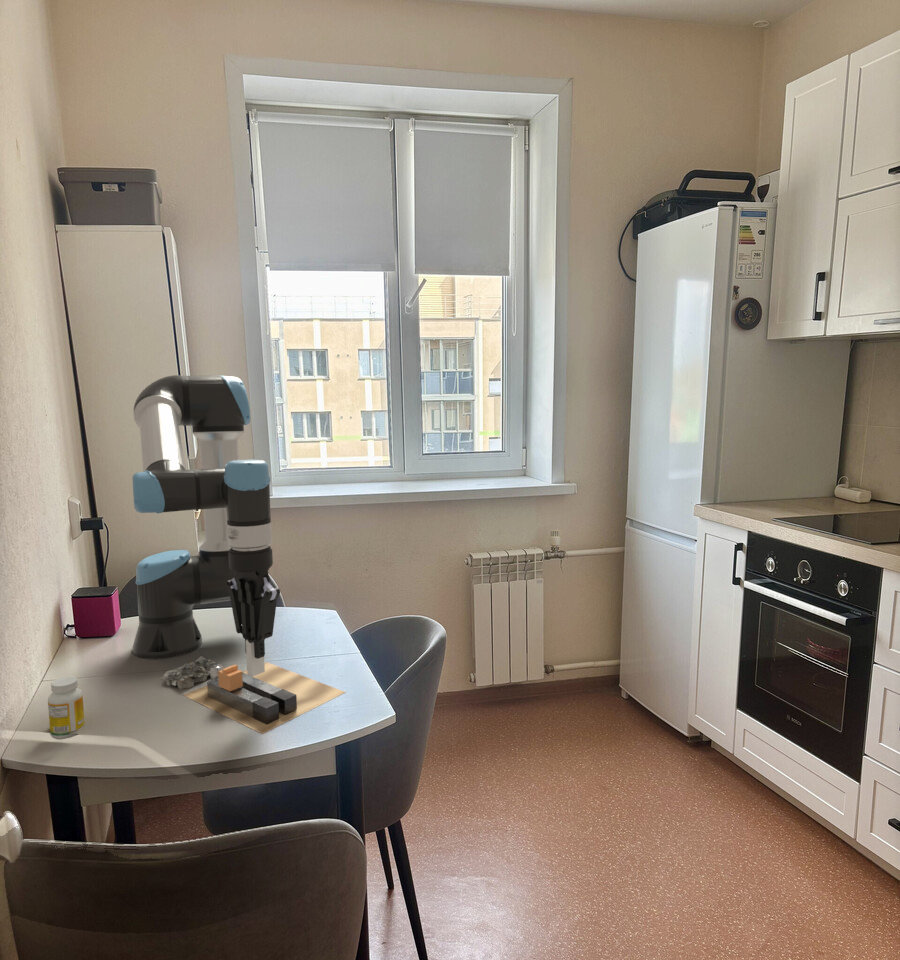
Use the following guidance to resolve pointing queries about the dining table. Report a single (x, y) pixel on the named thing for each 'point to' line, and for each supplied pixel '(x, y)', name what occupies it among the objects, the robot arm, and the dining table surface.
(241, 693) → the tongs fixed
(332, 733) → the dining table surface
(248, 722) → the board
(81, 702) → the supplement bottle
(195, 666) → the grey lumpy stone piece
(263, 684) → the bar
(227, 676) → the tab
